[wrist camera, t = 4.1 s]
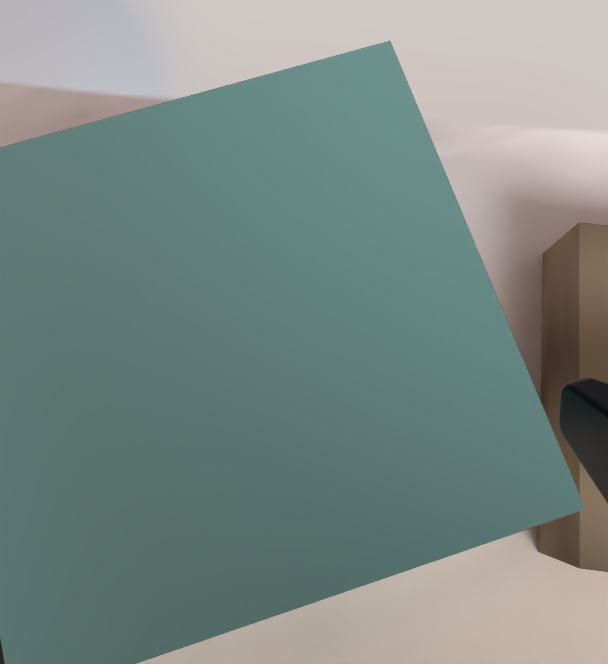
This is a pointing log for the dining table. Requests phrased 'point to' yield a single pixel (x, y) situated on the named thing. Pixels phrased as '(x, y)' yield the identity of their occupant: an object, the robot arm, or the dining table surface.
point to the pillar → (247, 366)
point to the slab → (575, 378)
